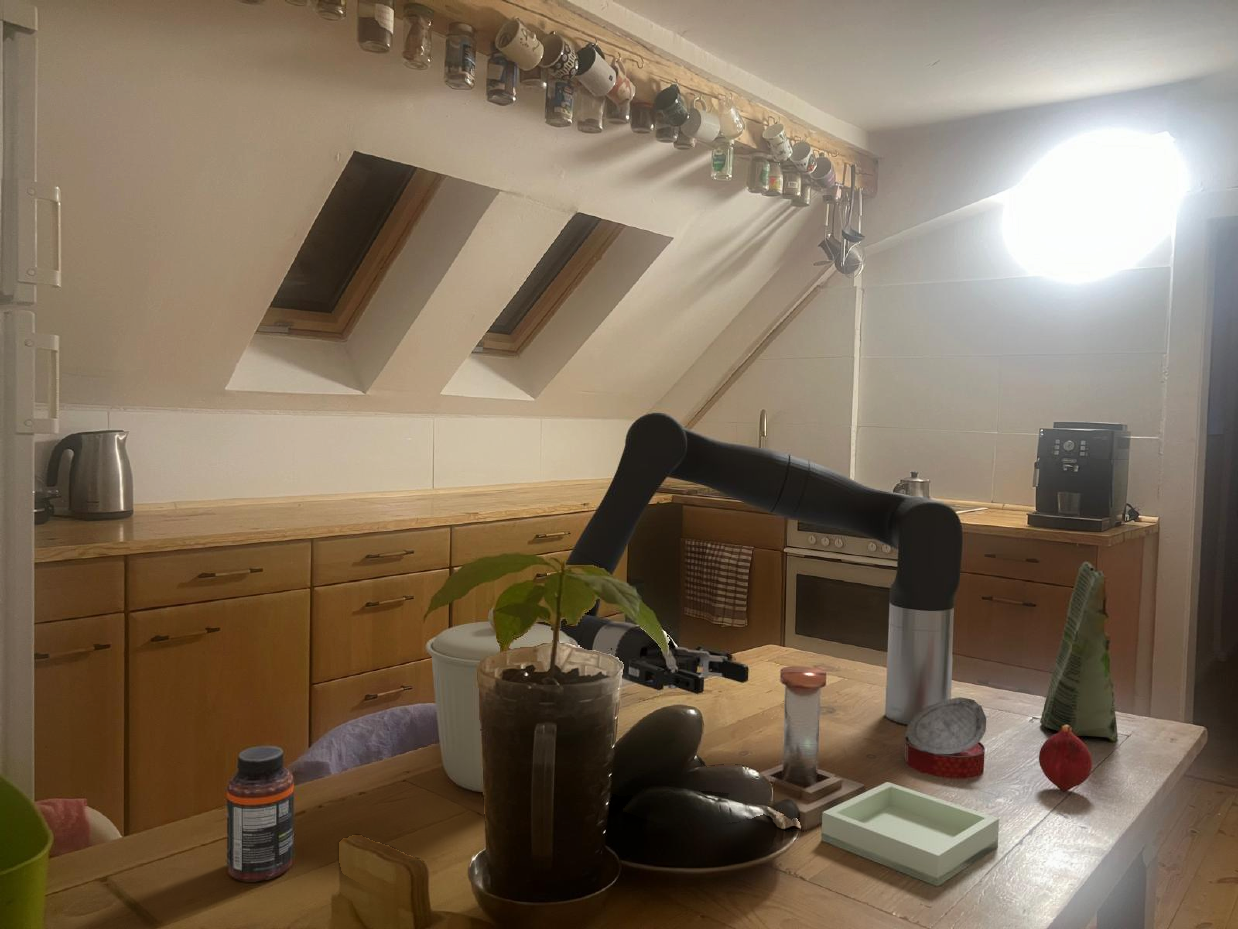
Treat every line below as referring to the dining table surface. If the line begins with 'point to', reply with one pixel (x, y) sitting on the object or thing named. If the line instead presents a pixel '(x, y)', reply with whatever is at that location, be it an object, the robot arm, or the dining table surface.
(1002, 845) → the dining table surface
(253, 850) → the supplement bottle
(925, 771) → the canned food
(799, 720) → the pin
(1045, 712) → the pouch
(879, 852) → the tray
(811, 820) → the brown socket base
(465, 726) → the canister
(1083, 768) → the onion
